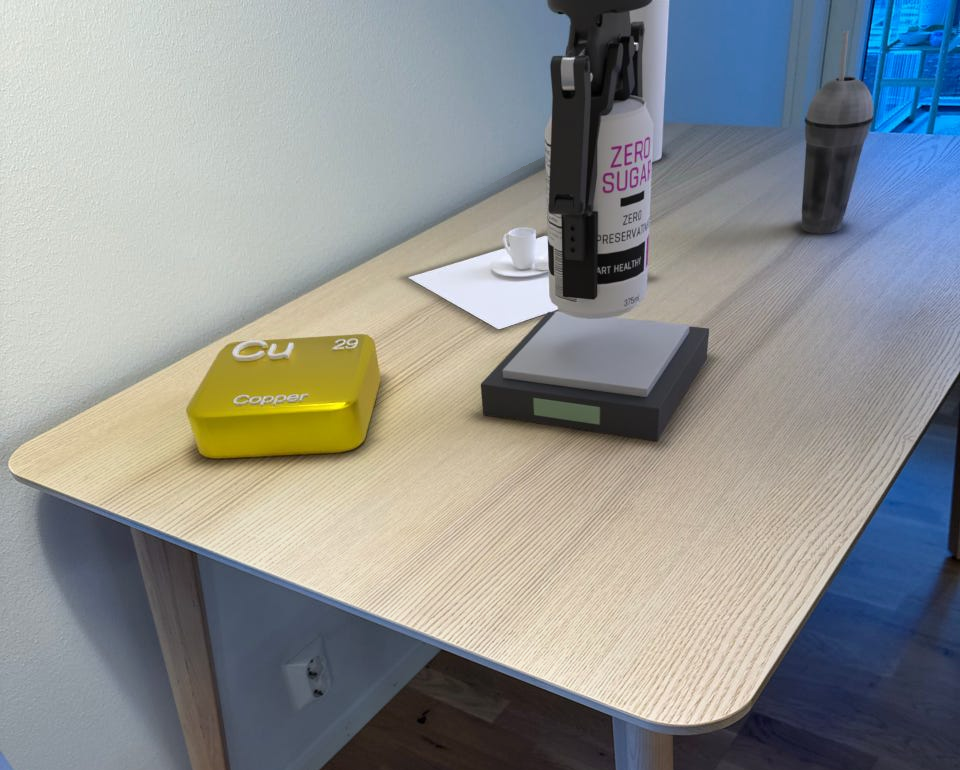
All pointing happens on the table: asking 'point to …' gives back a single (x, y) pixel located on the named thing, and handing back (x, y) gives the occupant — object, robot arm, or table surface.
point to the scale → (597, 374)
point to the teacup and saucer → (498, 281)
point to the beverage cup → (833, 148)
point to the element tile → (286, 397)
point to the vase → (654, 64)
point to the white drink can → (612, 214)
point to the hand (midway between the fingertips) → (598, 276)
